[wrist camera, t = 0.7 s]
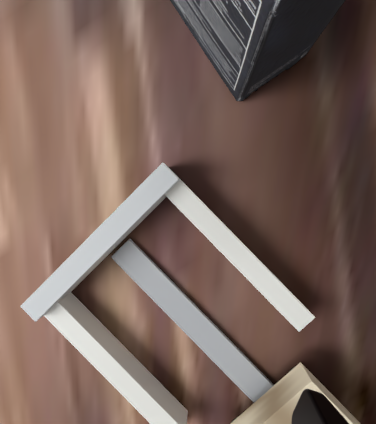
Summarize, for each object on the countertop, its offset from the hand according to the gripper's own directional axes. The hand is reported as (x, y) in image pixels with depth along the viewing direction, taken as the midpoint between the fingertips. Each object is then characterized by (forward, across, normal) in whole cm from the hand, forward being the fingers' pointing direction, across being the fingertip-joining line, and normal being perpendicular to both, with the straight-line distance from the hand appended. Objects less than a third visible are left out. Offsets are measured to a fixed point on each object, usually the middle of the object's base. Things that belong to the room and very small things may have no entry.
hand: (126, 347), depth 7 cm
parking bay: (+13, -6, +10) cm, 17 cm away
